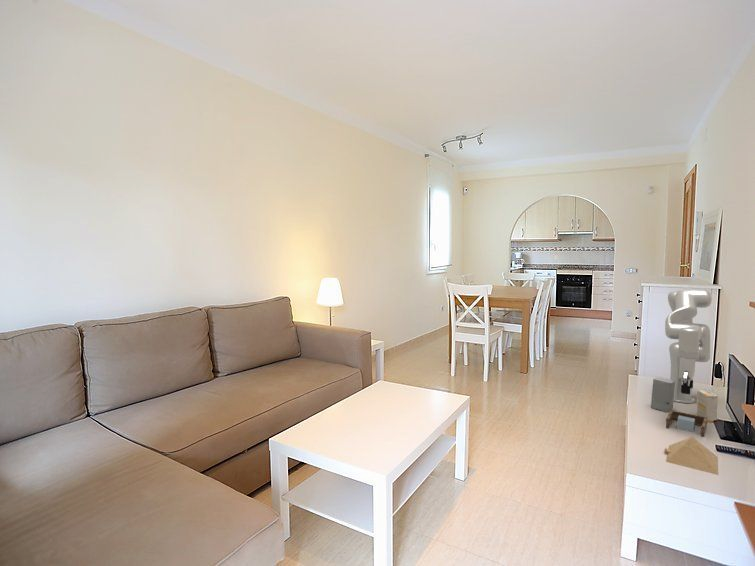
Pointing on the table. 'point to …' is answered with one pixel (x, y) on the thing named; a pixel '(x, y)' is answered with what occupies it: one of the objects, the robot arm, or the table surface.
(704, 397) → the supplement box
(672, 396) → the skincare box
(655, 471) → the table surface
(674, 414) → the walnut open-sided box
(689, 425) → the grey block
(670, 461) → the model pyramid
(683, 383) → the robot arm
